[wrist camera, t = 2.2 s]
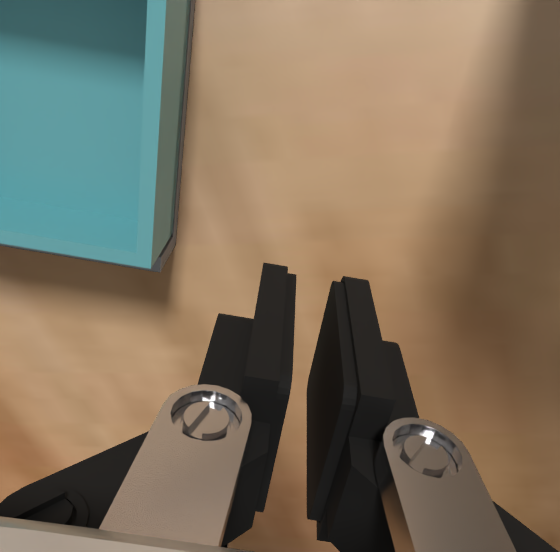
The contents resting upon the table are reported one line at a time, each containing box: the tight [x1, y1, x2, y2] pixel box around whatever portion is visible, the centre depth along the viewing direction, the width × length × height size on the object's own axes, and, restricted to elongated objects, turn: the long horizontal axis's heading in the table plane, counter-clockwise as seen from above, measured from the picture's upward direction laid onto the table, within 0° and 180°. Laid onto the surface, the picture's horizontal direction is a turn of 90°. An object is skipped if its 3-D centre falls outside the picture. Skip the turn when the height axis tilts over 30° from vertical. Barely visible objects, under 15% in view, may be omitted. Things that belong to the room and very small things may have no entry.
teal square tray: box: [0, 0, 190, 269], centre depth 26 cm, size 14×14×5 cm
